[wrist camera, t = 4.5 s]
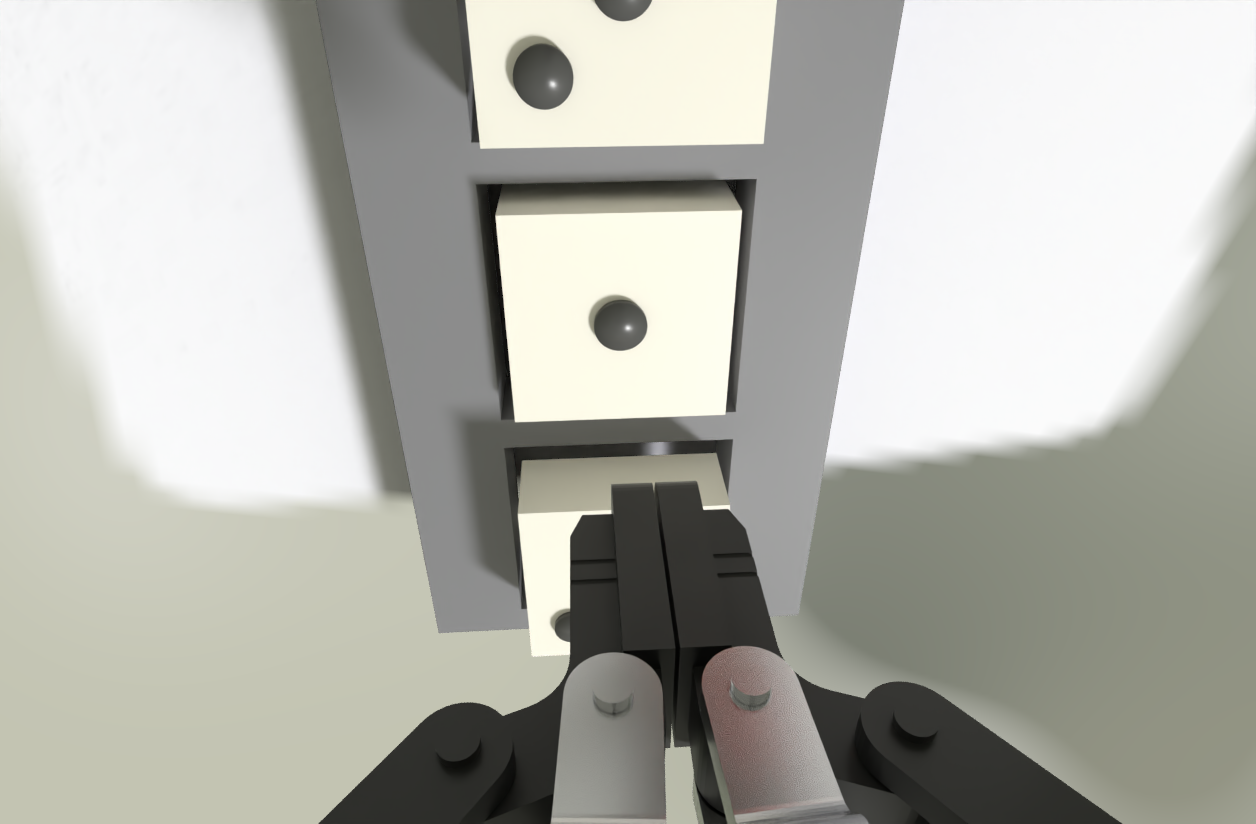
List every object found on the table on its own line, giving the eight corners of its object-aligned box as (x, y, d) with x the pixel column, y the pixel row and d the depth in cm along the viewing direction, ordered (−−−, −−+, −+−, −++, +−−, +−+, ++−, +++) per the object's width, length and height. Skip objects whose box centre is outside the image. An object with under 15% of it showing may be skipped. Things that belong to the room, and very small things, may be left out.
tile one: (724, 179, 21) (743, 213, 19) (711, 370, 24) (726, 418, 22) (502, 184, 21) (494, 218, 19) (519, 377, 24) (514, 426, 22)
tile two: (716, 452, 24) (731, 509, 22) (705, 590, 28) (717, 651, 25) (522, 460, 24) (517, 518, 22) (535, 598, 27) (531, 661, 25)
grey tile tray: (907, -274, 17) (955, -298, 15) (782, 566, 31) (798, 614, 29) (295, -282, 16) (255, -309, 14) (447, 582, 30) (438, 632, 28)
